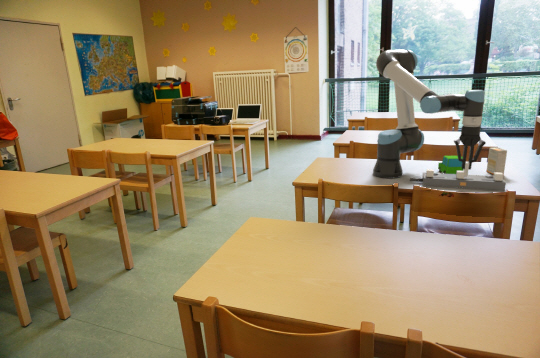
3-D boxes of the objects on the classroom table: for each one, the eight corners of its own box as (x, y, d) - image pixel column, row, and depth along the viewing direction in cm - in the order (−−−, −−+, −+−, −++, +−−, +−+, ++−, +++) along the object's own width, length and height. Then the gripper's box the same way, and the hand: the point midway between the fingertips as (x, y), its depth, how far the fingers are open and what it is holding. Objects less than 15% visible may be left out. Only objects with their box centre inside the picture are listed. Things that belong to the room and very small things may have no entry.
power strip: (409, 185, 177) (410, 177, 176) (409, 179, 186) (410, 171, 185) (505, 191, 164) (507, 182, 163) (500, 184, 173) (501, 176, 172)
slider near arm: (426, 176, 175) (427, 170, 174) (426, 175, 177) (426, 169, 176) (433, 177, 174) (433, 171, 173) (432, 175, 176) (433, 169, 175)
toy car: (454, 170, 199) (456, 152, 196) (464, 177, 186) (467, 158, 183) (435, 170, 200) (436, 152, 197) (444, 177, 187) (445, 158, 184)
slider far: (494, 180, 165) (495, 174, 164) (493, 178, 168) (494, 172, 167) (502, 180, 164) (503, 174, 163) (500, 178, 167) (501, 172, 166)
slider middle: (456, 178, 170) (457, 172, 169) (455, 176, 173) (456, 170, 172) (463, 178, 169) (464, 172, 168) (463, 176, 172) (463, 170, 171)
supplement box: (504, 175, 186) (508, 150, 183) (494, 175, 187) (498, 150, 183) (495, 171, 194) (498, 147, 191) (485, 171, 194) (489, 147, 191)
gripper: (456, 126, 162) (450, 177, 169) (489, 127, 158) (482, 179, 165) (454, 124, 169) (449, 173, 176) (486, 124, 165) (479, 174, 171)
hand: (465, 175), depth 170 cm, fingers closed
